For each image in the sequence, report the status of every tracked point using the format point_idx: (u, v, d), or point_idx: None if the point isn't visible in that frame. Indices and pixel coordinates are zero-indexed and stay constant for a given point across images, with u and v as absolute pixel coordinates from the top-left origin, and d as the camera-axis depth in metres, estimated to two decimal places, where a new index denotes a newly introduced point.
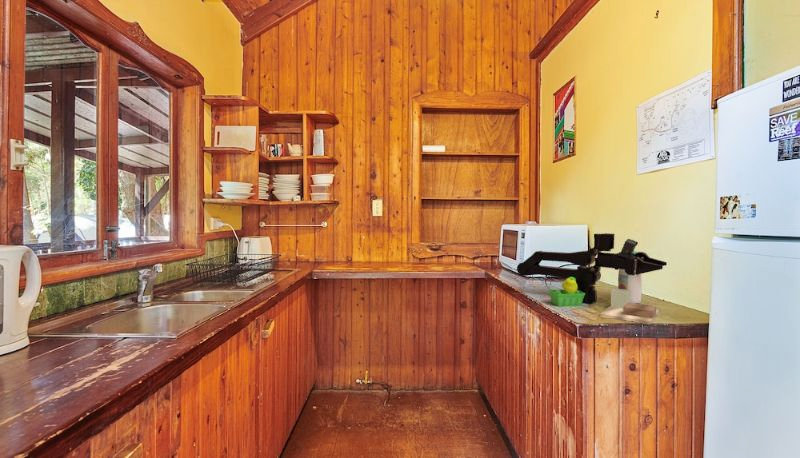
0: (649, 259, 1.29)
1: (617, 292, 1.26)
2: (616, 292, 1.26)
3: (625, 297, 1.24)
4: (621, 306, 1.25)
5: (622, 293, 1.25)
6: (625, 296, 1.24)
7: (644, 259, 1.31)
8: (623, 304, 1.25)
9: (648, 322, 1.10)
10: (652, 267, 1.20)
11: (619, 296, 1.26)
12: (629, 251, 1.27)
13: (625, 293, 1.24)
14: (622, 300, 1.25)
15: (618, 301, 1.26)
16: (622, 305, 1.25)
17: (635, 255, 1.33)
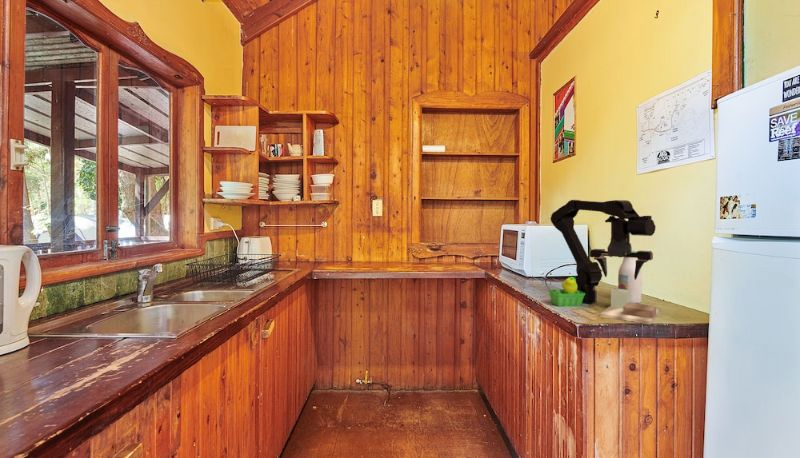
0: None
1: (617, 292, 1.26)
2: (616, 292, 1.26)
3: (625, 297, 1.24)
4: (621, 306, 1.25)
5: (622, 293, 1.25)
6: (625, 296, 1.24)
7: None
8: (623, 304, 1.25)
9: (648, 322, 1.10)
10: None
11: (619, 296, 1.26)
12: None
13: (625, 293, 1.24)
14: (622, 300, 1.25)
15: (618, 301, 1.26)
16: (622, 305, 1.25)
17: None
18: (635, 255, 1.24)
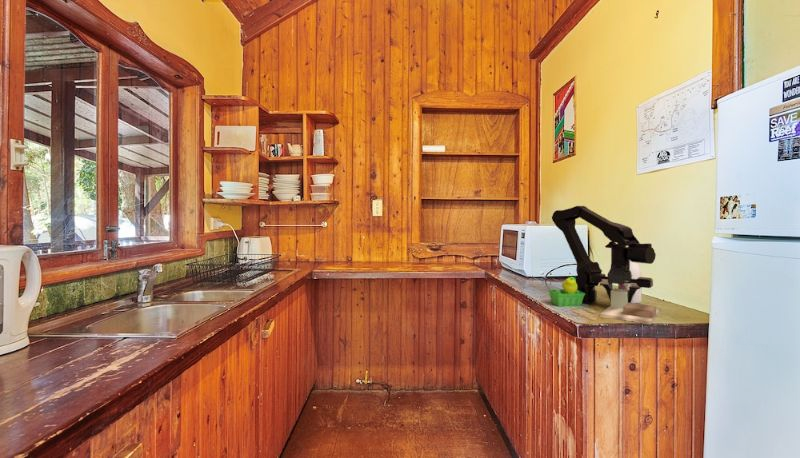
0: (629, 291, 1.25)
1: (617, 292, 1.26)
2: (616, 292, 1.26)
3: (625, 297, 1.24)
4: (621, 306, 1.25)
5: (622, 293, 1.25)
6: (625, 296, 1.24)
7: None
8: (623, 304, 1.25)
9: (648, 322, 1.10)
10: None
11: (619, 296, 1.26)
12: None
13: (625, 293, 1.24)
14: (622, 300, 1.25)
15: (618, 301, 1.26)
16: (622, 305, 1.25)
17: None
18: (635, 282, 1.24)
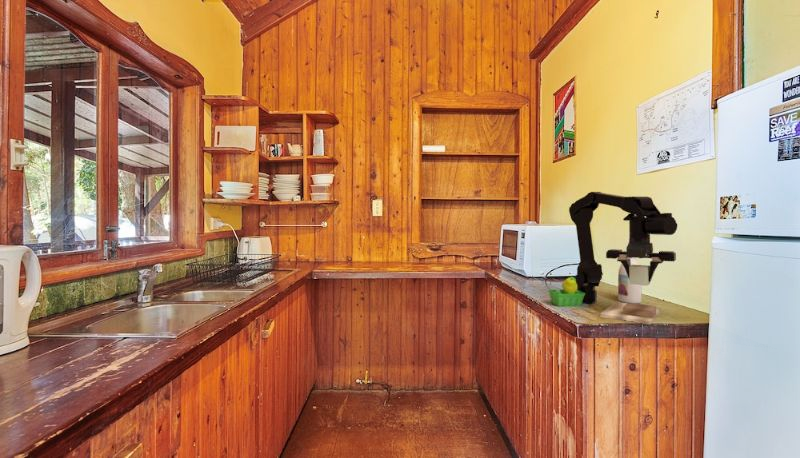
0: (650, 266, 1.15)
1: (636, 268, 1.16)
2: (635, 268, 1.16)
3: (645, 273, 1.14)
4: (641, 282, 1.15)
5: (642, 268, 1.15)
6: (645, 271, 1.14)
7: None
8: (643, 280, 1.15)
9: (648, 322, 1.10)
10: None
11: (639, 272, 1.16)
12: None
13: (645, 268, 1.14)
14: (642, 276, 1.15)
15: (638, 277, 1.16)
16: (642, 281, 1.15)
17: (658, 253, 1.12)
18: (656, 256, 1.14)
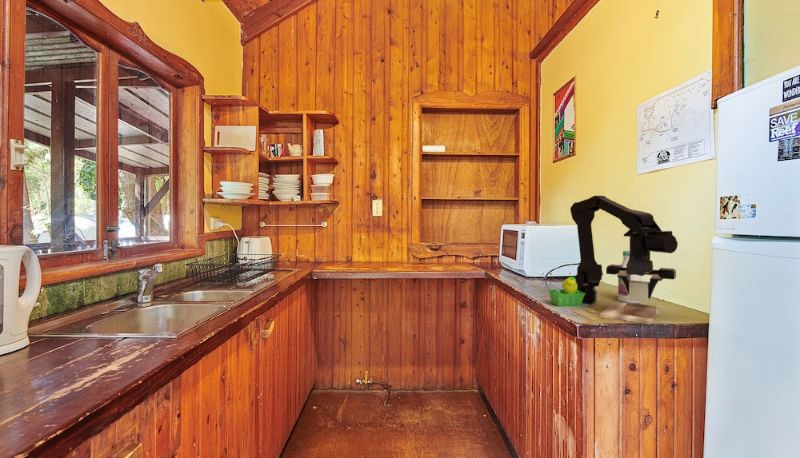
0: (650, 283, 1.15)
1: (636, 284, 1.16)
2: (635, 284, 1.16)
3: (645, 289, 1.14)
4: (640, 299, 1.15)
5: (642, 285, 1.15)
6: (645, 288, 1.14)
7: None
8: (643, 297, 1.15)
9: (648, 322, 1.10)
10: None
11: (639, 288, 1.16)
12: None
13: (645, 285, 1.14)
14: (641, 293, 1.15)
15: (637, 294, 1.16)
16: (642, 298, 1.15)
17: (658, 270, 1.12)
18: (656, 273, 1.14)
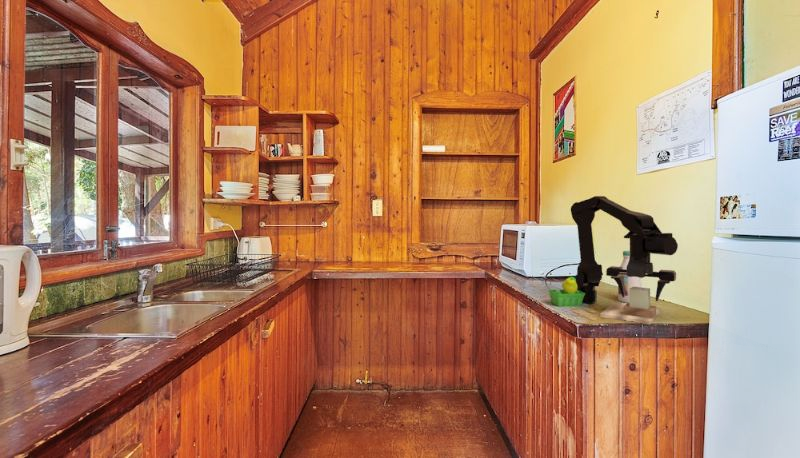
0: (657, 286, 1.13)
1: (636, 291, 1.16)
2: (635, 291, 1.16)
3: (645, 296, 1.14)
4: (640, 306, 1.15)
5: (642, 292, 1.15)
6: (645, 295, 1.14)
7: None
8: (643, 304, 1.15)
9: (648, 322, 1.10)
10: None
11: (639, 295, 1.16)
12: None
13: (645, 292, 1.14)
14: (641, 299, 1.15)
15: (637, 300, 1.16)
16: (642, 305, 1.15)
17: (659, 272, 1.12)
18: (656, 275, 1.14)
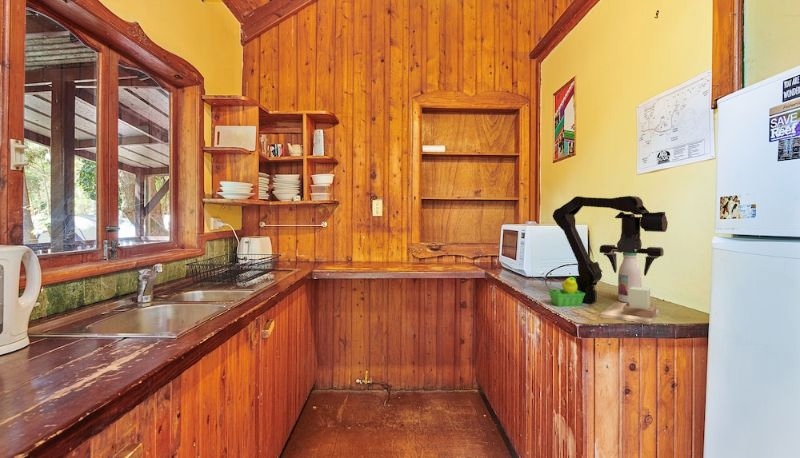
0: None
1: (636, 291, 1.16)
2: (635, 291, 1.16)
3: (645, 296, 1.14)
4: (640, 306, 1.15)
5: (642, 292, 1.15)
6: (645, 295, 1.14)
7: None
8: (643, 304, 1.15)
9: (648, 322, 1.10)
10: None
11: (639, 295, 1.16)
12: None
13: (645, 292, 1.14)
14: (641, 299, 1.15)
15: (637, 300, 1.16)
16: (642, 305, 1.15)
17: None
18: (645, 251, 1.23)
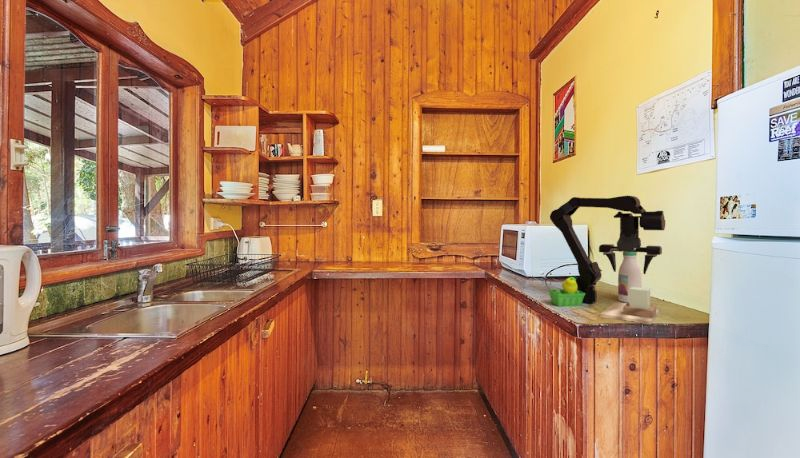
0: None
1: (636, 291, 1.16)
2: (635, 291, 1.16)
3: (645, 296, 1.14)
4: (640, 306, 1.15)
5: (642, 292, 1.15)
6: (645, 295, 1.14)
7: None
8: (643, 304, 1.15)
9: (648, 322, 1.10)
10: None
11: (639, 295, 1.16)
12: None
13: (645, 292, 1.14)
14: (641, 299, 1.15)
15: (637, 300, 1.16)
16: (642, 305, 1.15)
17: None
18: (644, 250, 1.25)
